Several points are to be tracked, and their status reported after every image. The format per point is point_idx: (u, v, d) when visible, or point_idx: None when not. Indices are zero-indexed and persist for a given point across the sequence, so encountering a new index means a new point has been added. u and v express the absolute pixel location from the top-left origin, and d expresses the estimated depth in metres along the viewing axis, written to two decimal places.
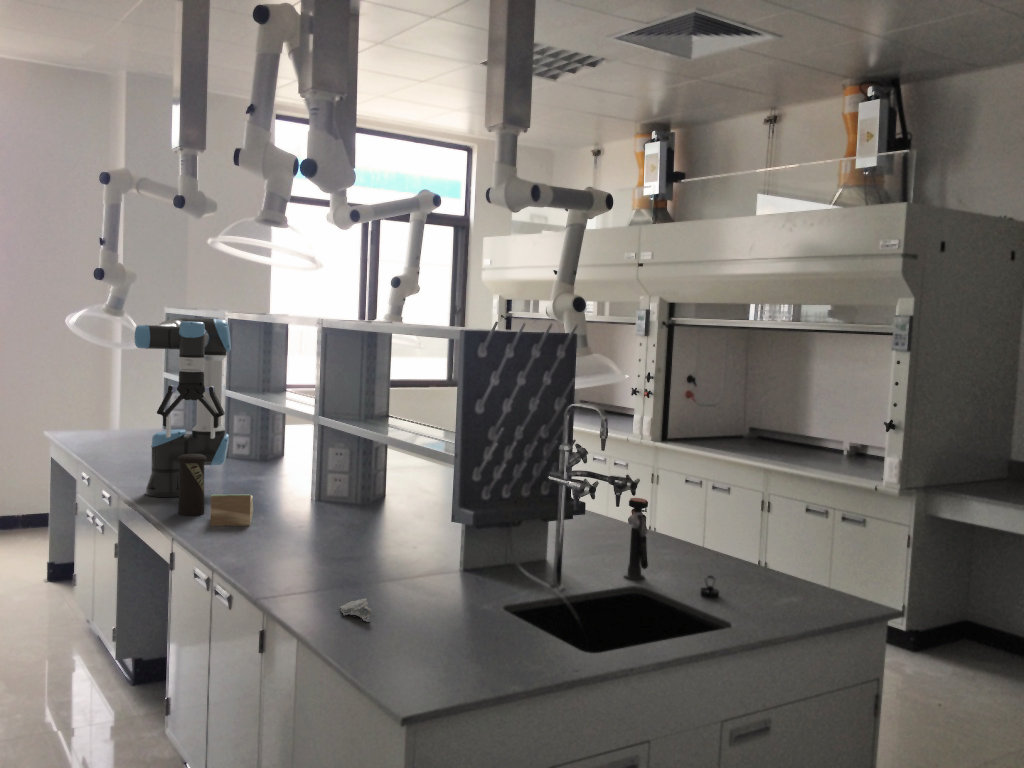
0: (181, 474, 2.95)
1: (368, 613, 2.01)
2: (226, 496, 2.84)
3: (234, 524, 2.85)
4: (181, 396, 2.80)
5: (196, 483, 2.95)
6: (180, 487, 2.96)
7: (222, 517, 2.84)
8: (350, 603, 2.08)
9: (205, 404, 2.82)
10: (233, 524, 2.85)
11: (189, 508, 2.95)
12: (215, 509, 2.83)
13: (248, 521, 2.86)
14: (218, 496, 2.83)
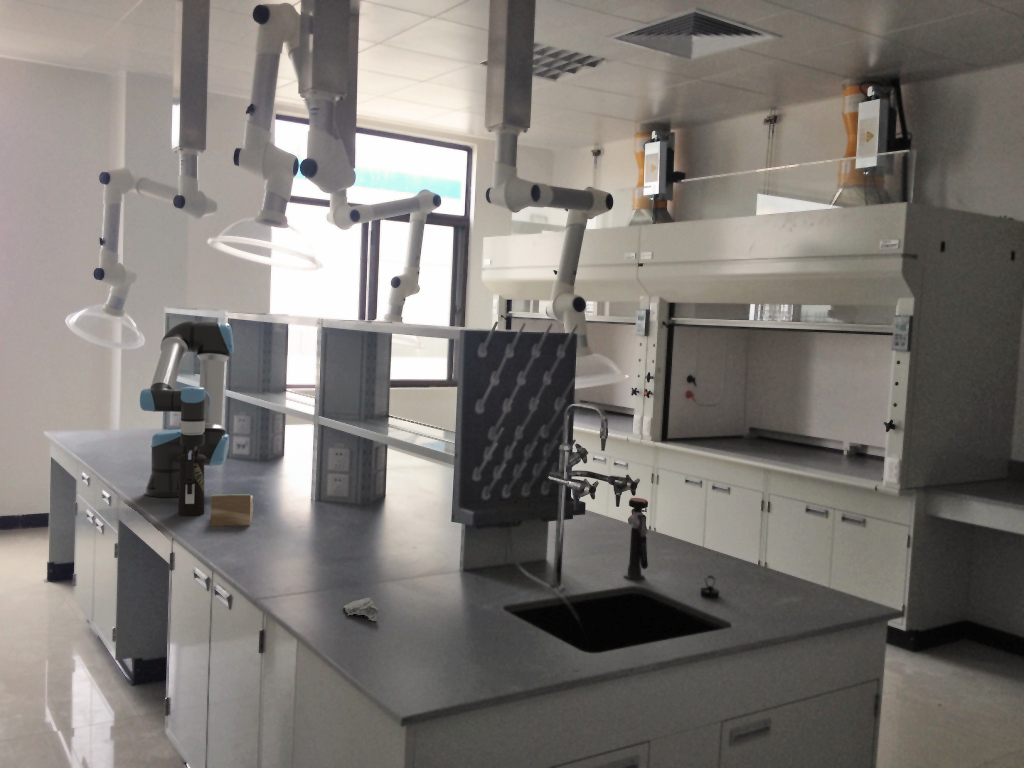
0: (181, 474, 2.95)
1: (375, 612, 2.02)
2: (226, 496, 2.84)
3: (234, 524, 2.85)
4: None
5: (196, 482, 2.95)
6: (180, 487, 2.96)
7: (222, 517, 2.84)
8: (354, 603, 2.09)
9: None
10: (233, 524, 2.85)
11: (189, 508, 2.95)
12: (215, 509, 2.83)
13: (248, 521, 2.86)
14: (218, 496, 2.83)
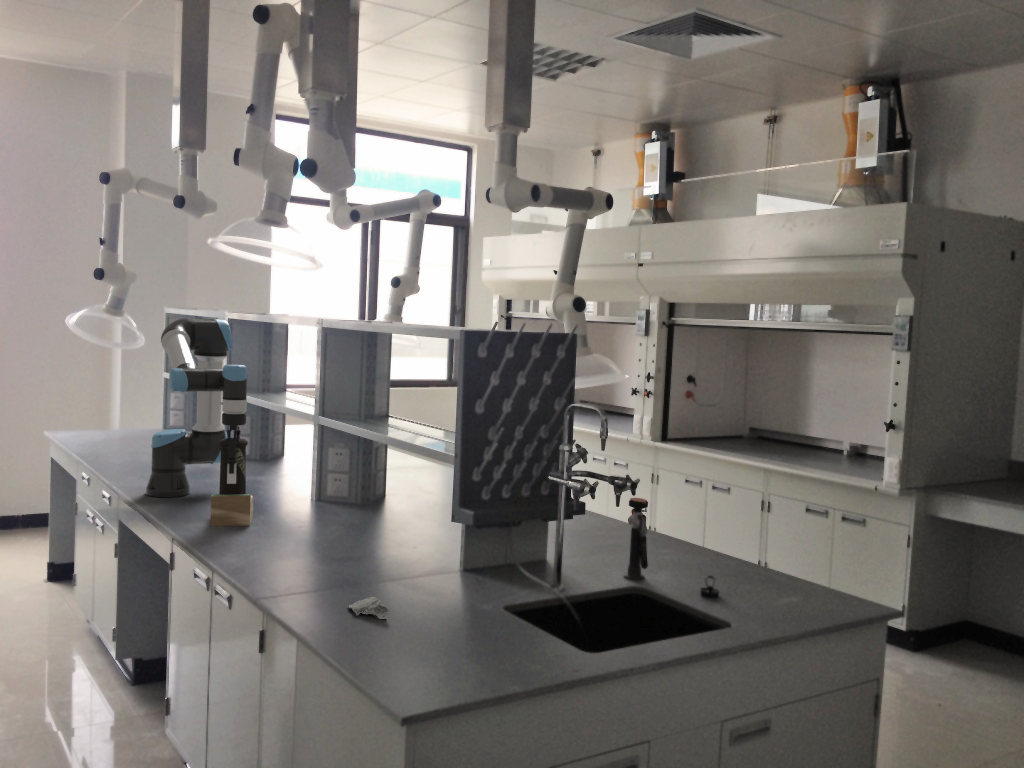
0: (222, 459, 2.87)
1: (386, 610, 2.03)
2: (226, 496, 2.84)
3: (234, 524, 2.85)
4: None
5: (237, 467, 2.87)
6: (221, 472, 2.88)
7: (222, 517, 2.84)
8: (359, 602, 2.09)
9: None
10: (233, 524, 2.85)
11: (231, 493, 2.87)
12: (215, 509, 2.83)
13: (248, 521, 2.86)
14: (218, 496, 2.83)
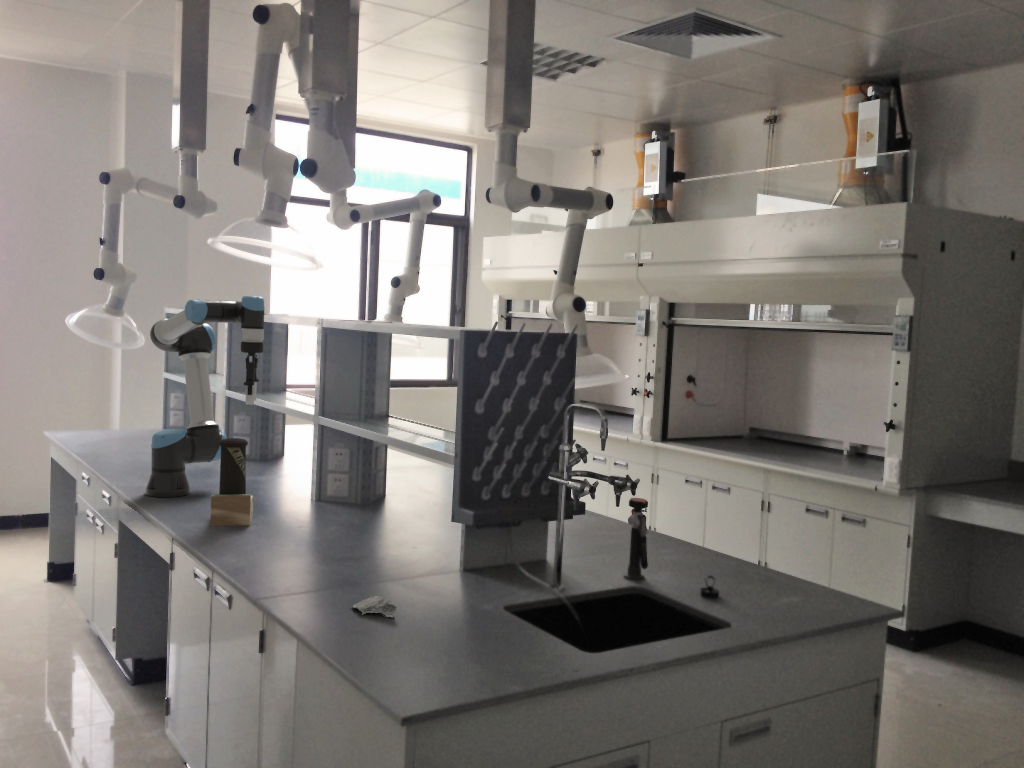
0: (222, 459, 2.87)
1: (394, 609, 2.04)
2: (226, 496, 2.84)
3: (234, 524, 2.85)
4: None
5: (237, 467, 2.87)
6: (221, 472, 2.88)
7: (222, 517, 2.84)
8: (364, 602, 2.10)
9: None
10: (233, 524, 2.85)
11: (231, 493, 2.87)
12: (215, 509, 2.83)
13: (248, 521, 2.86)
14: (218, 496, 2.83)
